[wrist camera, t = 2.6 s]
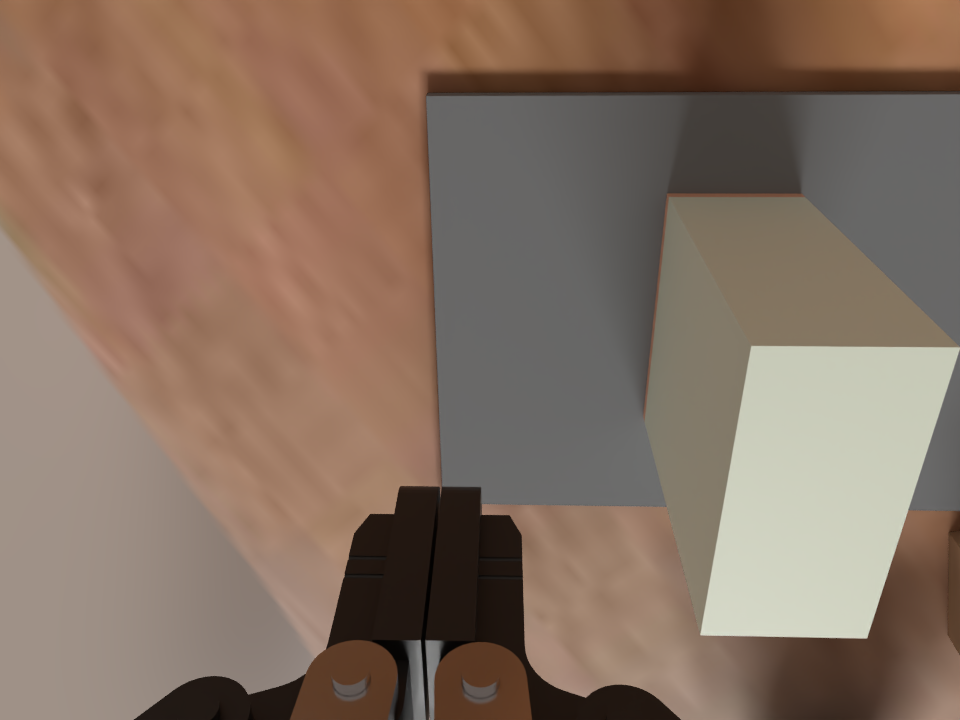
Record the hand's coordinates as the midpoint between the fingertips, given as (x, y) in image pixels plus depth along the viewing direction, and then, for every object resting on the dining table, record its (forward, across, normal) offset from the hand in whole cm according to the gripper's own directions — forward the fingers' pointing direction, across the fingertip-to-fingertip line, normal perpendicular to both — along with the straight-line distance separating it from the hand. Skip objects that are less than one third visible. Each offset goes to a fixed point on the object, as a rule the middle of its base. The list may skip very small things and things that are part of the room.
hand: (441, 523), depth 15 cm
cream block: (+9, -7, 0) cm, 12 cm away
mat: (+10, -10, +1) cm, 14 cm away
